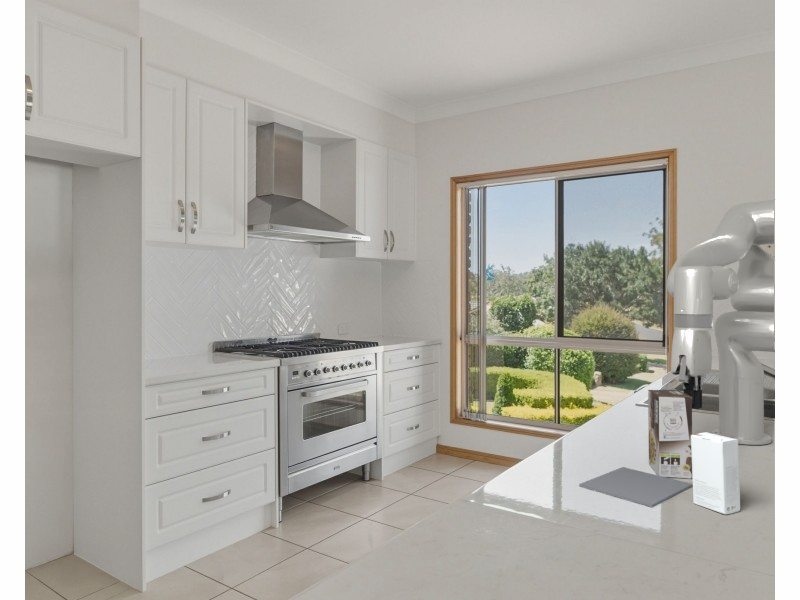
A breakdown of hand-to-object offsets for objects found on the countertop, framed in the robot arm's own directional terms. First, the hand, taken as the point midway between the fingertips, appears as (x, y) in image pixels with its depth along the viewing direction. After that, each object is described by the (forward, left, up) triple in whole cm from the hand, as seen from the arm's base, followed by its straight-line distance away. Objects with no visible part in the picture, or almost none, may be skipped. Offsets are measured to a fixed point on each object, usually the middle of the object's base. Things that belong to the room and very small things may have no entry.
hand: (692, 407), depth 122 cm
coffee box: (+11, 0, -12) cm, 16 cm away
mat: (+25, 0, -12) cm, 27 cm away
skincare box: (+25, +14, -12) cm, 31 cm away
